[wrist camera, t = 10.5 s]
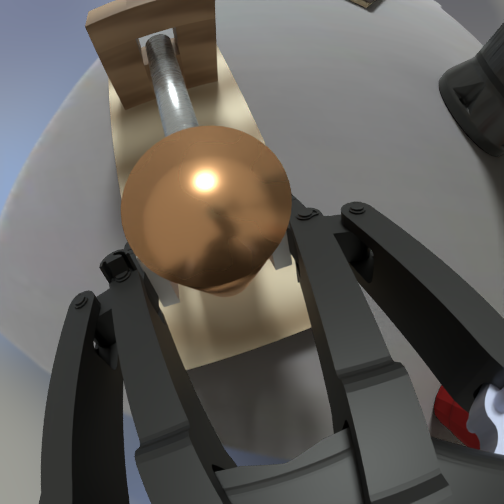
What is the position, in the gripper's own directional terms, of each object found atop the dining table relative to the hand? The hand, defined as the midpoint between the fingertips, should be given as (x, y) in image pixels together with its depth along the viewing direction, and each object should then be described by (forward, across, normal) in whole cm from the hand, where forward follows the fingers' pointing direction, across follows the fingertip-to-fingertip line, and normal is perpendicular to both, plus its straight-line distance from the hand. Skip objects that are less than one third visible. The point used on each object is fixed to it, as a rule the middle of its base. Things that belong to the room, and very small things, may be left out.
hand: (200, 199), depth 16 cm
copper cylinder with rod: (+5, 0, +1) cm, 5 cm away
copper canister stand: (+8, 0, 0) cm, 8 cm away
